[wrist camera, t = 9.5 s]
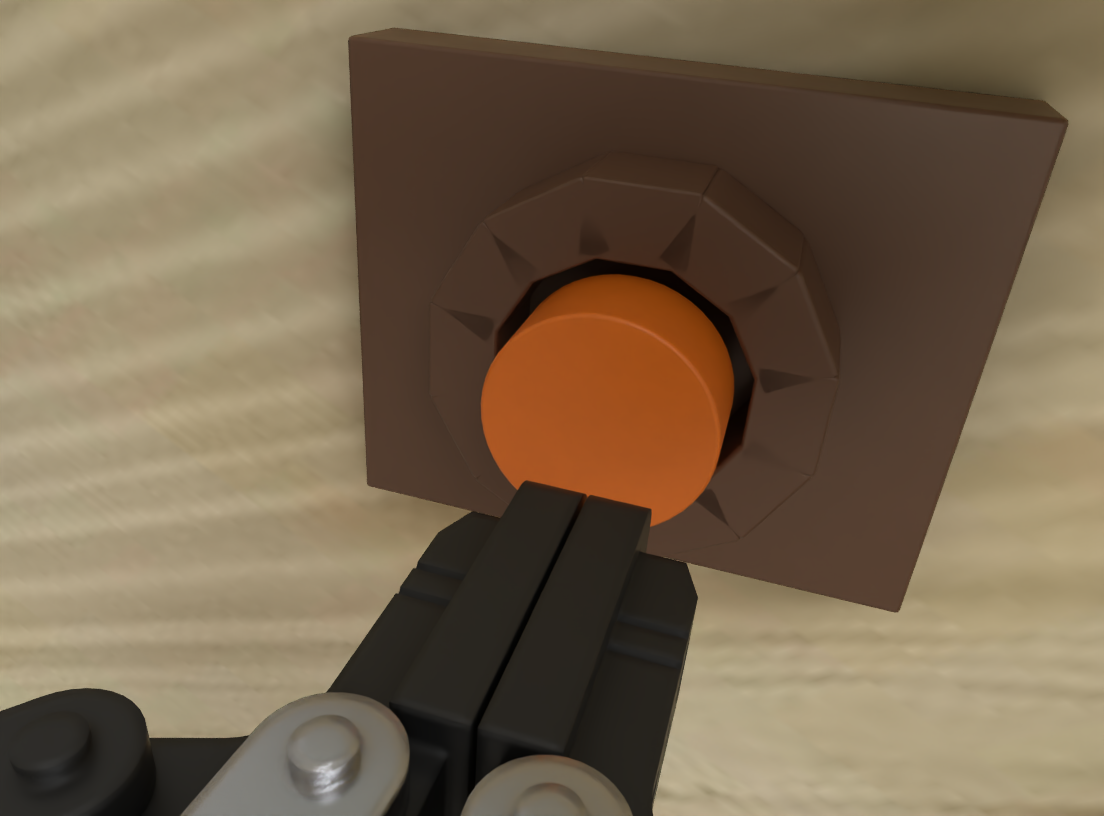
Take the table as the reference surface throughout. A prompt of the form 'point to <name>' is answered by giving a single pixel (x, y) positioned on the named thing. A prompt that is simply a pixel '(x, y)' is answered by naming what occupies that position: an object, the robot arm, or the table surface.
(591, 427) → the button
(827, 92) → the control block
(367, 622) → the table surface
